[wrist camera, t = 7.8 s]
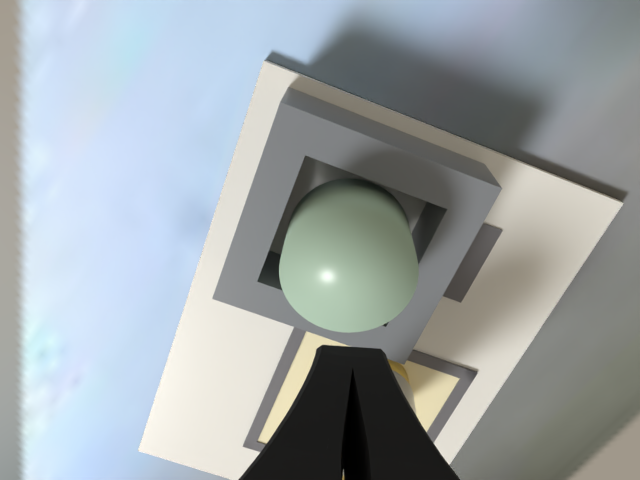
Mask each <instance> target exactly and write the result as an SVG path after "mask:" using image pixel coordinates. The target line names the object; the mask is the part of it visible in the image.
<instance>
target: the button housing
mask: <svg viewBox="0 0 640 480" xmlns="http://www.w3.org/2000/svg"><path fill="white" fill-rule="evenodd" d="M305 155H306V156H308V157H311V158H314V159H316V160H319V161H322V162H324V163H327V164H330V165H332V166H335V167H337V168H340V169H343V170H345V171H348V172H351V173H353V174H356V175H358V176H361V177H364V178H366V179H369V180H372V181H374V182H377V183H380V184H382V185H385V186H387V187H390V188H393V189H395V190H398V191H401V192H403V193H406V194H408V195H411V196H414V197H416V198H419V199H422V200H424V201H427V203H426V205H425V207H424V209H423V211H422V213H421V215H420V217H419V219H418V221H417V223H416V225H415V227H414V229H413V231H412V233H411V234H412V238H413V243H414V247H415V251H416V255H417V260H418V266H419V276H418V283H417V286H416V290H415V292H414V295H413V297H412V299H411V300H410V302H409V303H408V305H407V306H406V307H405V308H404V310H403V311H402V312H401V313H400V314H398V315H397V316H396V317H395V318H393V319H392V320H391V321H389V322H387V323H385V324H384V325H382V326H379V327H377V328H374V329H371V330H367V331H362V332H351V333H347V332H337V331H331V330H328V329H324V328H322V327H319V326H317V325H315V324H313V323H311V322H309V321H308V320H306V319H305V318H303V317H302V316H301V315H300V314H299V313H298V312H296V311H295V309H294V308H293V307H292V306H291V305H290V303H289V302H288V300H287V299H286V297H285V295H284V292H283V290H282V287H281V284H280V278H279V264H280V258H281V254H278V253H275V252H272V251H270V250H269V249H270V247H271V244H272V241H273V239H274V236H275V233H276V231H277V228H278V225H279V223H280V220H281V218H282V215H283V212H284V210H285V207H286V204H287V202H288V199H289V197H290V194H291V191H292V189H293V186H294V183H295V181H296V178H297V176H298V173H299V170H300V168H301V165H302V162H303V160H304V157H305ZM501 190H502V187H501V186H500V185H499V183H498V182H497V180H496V179H495V178H494V176H493V175H492V173H491V172H490V171H489V169H488V168H487V166H486V165H485V164H484V163H481V162H479V161H476V160H474V159H471V158H468V157H466V156H463V155H461V154H458V153H456V152H453V151H451V150H448V149H446V148H443V147H440V146H438V145H435V144H433V143H430V142H428V141H425V140H423V139H420V138H418V137H415V136H412V135H410V134H407V133H405V132H402V131H400V130H397V129H395V128H392V127H390V126H387V125H384V124H382V123H379V122H377V121H374V120H372V119H369V118H367V117H364V116H362V115H359V114H356V113H354V112H351V111H349V110H346V109H344V108H341V107H339V106H336V105H334V104H331V103H328V102H326V101H323V100H321V99H318V98H316V97H313V96H311V95H308V94H306V93H303V92H301V91H298V90H295V89H293V88H290V87H288V88H287V90H286V92H285V94H284V96H283V98H282V99H281V101H280V104H279V106H278V109H277V112H276V115H275V118H274V121H273V124H272V127H271V130H270V133H269V135H268V138H267V141H266V144H265V147H264V150H263V153H262V156H261V159H260V162H259V164H258V167H257V170H256V173H255V176H254V179H253V182H252V185H251V188H250V190H249V193H248V196H247V199H246V202H245V205H244V208H243V211H242V214H241V217H240V219H239V222H238V225H237V228H236V231H235V234H234V237H233V240H232V243H231V245H230V248H229V251H228V254H227V257H226V260H225V263H224V266H223V269H222V272H221V274H220V277H219V280H218V283H217V286H216V289H215V292H214V295H213V298H212V299H214V300H217V301H220V302H223V303H226V304H229V305H231V306H234V307H237V308H240V309H243V310H246V311H249V312H252V313H255V314H258V315H261V316H264V317H266V318H269V319H272V320H275V321H278V322H281V323H284V324H287V325H290V326H293V327H296V328H298V329H301V330H304V331H307V332H310V333H313V334H316V335H319V336H322V337H325V338H328V339H330V340H333V341H336V342H339V343H342V344H345V345H348V346H351V347H363V348H378V349H382V350H383V352H384V353H385V354H386V356H387V359H389V360H392V361H395V362H397V363H400V364H403V365H404V364H405V363H406V361H407V359H408V357H409V355H410V354H411V352H412V350H413V348H414V346H415V345H416V343H417V341H418V339H419V337H420V336H421V334H422V332H423V330H424V328H425V327H426V325H427V323H428V321H429V319H430V318H431V316H432V314H433V312H434V310H435V309H436V307H437V305H438V303H439V301H440V300H441V298H442V296H443V294H444V292H445V291H446V289H447V287H448V285H449V283H450V282H451V280H452V278H453V276H454V274H455V273H456V271H457V269H458V267H459V265H460V264H461V262H462V260H463V258H464V256H465V255H466V253H467V251H468V249H469V247H470V246H471V244H472V242H473V240H474V238H475V237H476V235H477V233H478V231H479V229H480V228H481V226H482V224H483V222H484V220H485V219H486V217H487V215H488V213H489V211H490V210H491V208H492V206H493V204H494V202H495V201H496V199H497V197H498V195H499V193H500V192H501Z"/></svg>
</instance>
